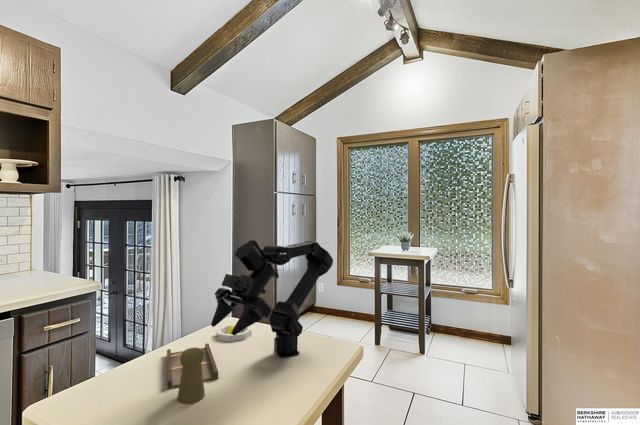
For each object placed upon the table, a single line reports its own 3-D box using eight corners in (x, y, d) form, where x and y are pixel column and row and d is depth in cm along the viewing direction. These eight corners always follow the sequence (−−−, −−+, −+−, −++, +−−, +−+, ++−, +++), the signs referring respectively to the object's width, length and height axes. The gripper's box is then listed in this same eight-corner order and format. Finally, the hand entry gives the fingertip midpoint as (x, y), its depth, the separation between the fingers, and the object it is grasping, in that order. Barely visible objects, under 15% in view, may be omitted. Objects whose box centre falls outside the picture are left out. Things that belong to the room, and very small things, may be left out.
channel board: (208, 348, 101) (208, 343, 101) (218, 378, 82) (218, 371, 82) (166, 355, 96) (167, 349, 96) (167, 389, 77) (167, 381, 77)
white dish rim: (246, 327, 121) (246, 322, 121) (254, 338, 111) (254, 332, 111) (215, 332, 116) (215, 326, 116) (220, 343, 106) (220, 337, 106)
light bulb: (241, 335, 114) (239, 327, 112) (224, 342, 111) (222, 334, 110) (238, 329, 116) (236, 322, 115) (222, 336, 114) (220, 328, 113)
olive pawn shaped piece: (171, 402, 71) (172, 353, 72) (187, 388, 77) (188, 343, 78) (195, 405, 70) (197, 356, 71) (209, 391, 76) (210, 345, 77)
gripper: (221, 259, 91) (183, 305, 82) (263, 266, 79) (224, 320, 70) (243, 283, 97) (209, 328, 88) (285, 292, 85) (251, 345, 76)
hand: (222, 330), depth 80 cm, fingers open, 9 cm apart
